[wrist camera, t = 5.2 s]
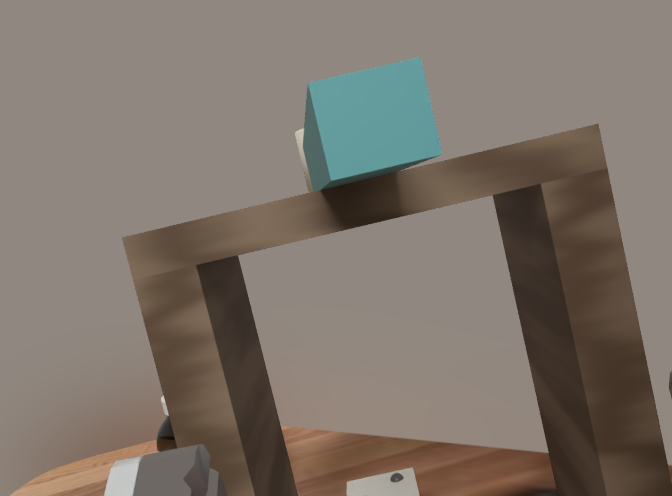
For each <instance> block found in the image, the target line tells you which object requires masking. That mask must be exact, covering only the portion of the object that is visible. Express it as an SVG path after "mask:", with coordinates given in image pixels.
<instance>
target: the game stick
mask: <svg viewBox="0 0 672 496" xmlns="http://www.w3.org/2000/svg"><path fill="white" fill-rule="evenodd" d="M295 137H296V141H297V145H298V149H299V153H300V157H301V162H302V166H303V170H304V174H305V178H306V183H307V187H308V191H309V193H311V192H315V191H319V190H323V189H328V188H332V187H336V186H340V185H344V184H349V183H353V182H357V181H361V180H365V179H369V178H374V177H378V176H382V175H386V174H390V173H395V172H398V171H400V170H403V169H405V168H408V167H410V166H413V165H416V164H419V163H421V162H424V161H427V160H429V159H432V158H434V157H437V156H440V155H442V152H441V147H440V143H439V138H438V134H437V129H436V124H435V120H434V116H433V111H432V107H431V102H430V98H429V93H428V89H427V84H426V80H425V75H424V71H423V66H422V62H421V57H419V58H415V59H411V60H406V61H402V62H398V63H393V64H388V65H384V66H380V67H375V68H371V69H367V70H363V71H358V72H353V73H349V74H345V75H341V76H336V77H332V78H328V79H323V80H319V81H314V82H310V83H308V88H307V99H306V112H305V124H304V128H303V129H301V130H298V131H297V132H295Z"/></svg>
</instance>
